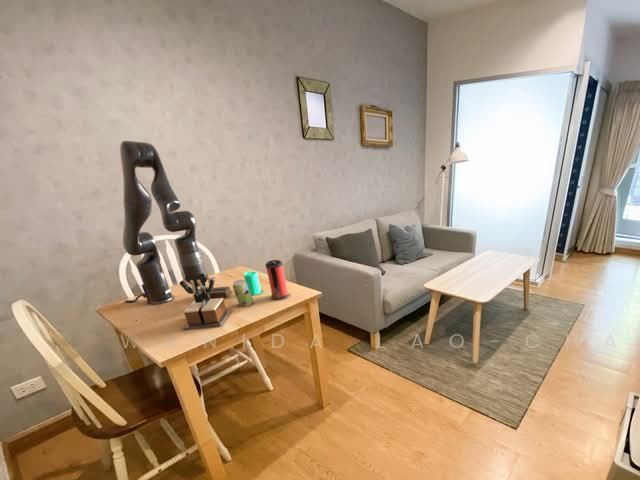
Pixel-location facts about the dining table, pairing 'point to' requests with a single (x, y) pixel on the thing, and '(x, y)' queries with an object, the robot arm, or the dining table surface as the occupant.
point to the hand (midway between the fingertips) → (203, 301)
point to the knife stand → (220, 292)
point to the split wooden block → (206, 314)
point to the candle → (252, 282)
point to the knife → (200, 297)
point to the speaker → (277, 279)
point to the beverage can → (242, 292)
